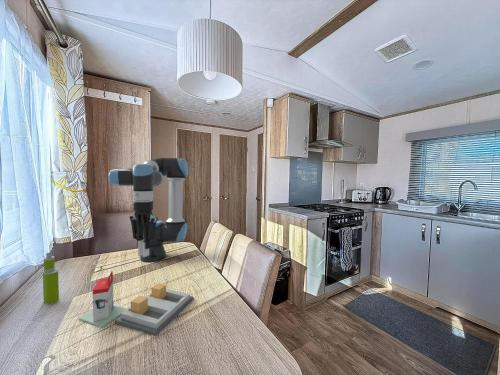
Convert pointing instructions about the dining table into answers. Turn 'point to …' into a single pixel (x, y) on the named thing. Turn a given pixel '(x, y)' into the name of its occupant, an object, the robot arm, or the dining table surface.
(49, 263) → the vape
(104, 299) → the ink box
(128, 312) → the grey divided tray
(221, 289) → the dining table surface
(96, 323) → the rest pad
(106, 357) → the dining table surface
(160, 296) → the tan block
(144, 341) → the dining table surface
